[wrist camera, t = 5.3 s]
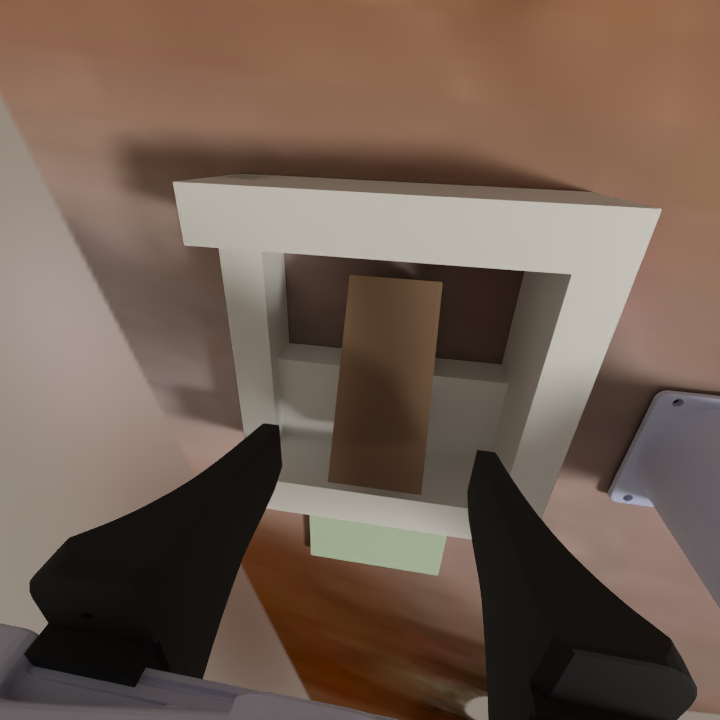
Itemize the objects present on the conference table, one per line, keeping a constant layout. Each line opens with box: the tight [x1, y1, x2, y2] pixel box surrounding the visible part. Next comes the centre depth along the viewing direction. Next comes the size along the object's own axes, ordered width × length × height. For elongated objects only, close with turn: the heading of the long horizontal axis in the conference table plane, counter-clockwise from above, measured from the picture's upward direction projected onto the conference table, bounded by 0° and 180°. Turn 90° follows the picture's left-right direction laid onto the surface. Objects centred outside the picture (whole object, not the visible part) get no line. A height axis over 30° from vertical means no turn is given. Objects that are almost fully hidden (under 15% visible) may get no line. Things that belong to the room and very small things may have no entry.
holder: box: [173, 174, 662, 540], centre depth 19 cm, size 16×16×6 cm
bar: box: [328, 275, 443, 495], centre depth 18 cm, size 4×9×4 cm, turn 178°
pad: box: [309, 515, 447, 576], centre depth 28 cm, size 10×8×1 cm
